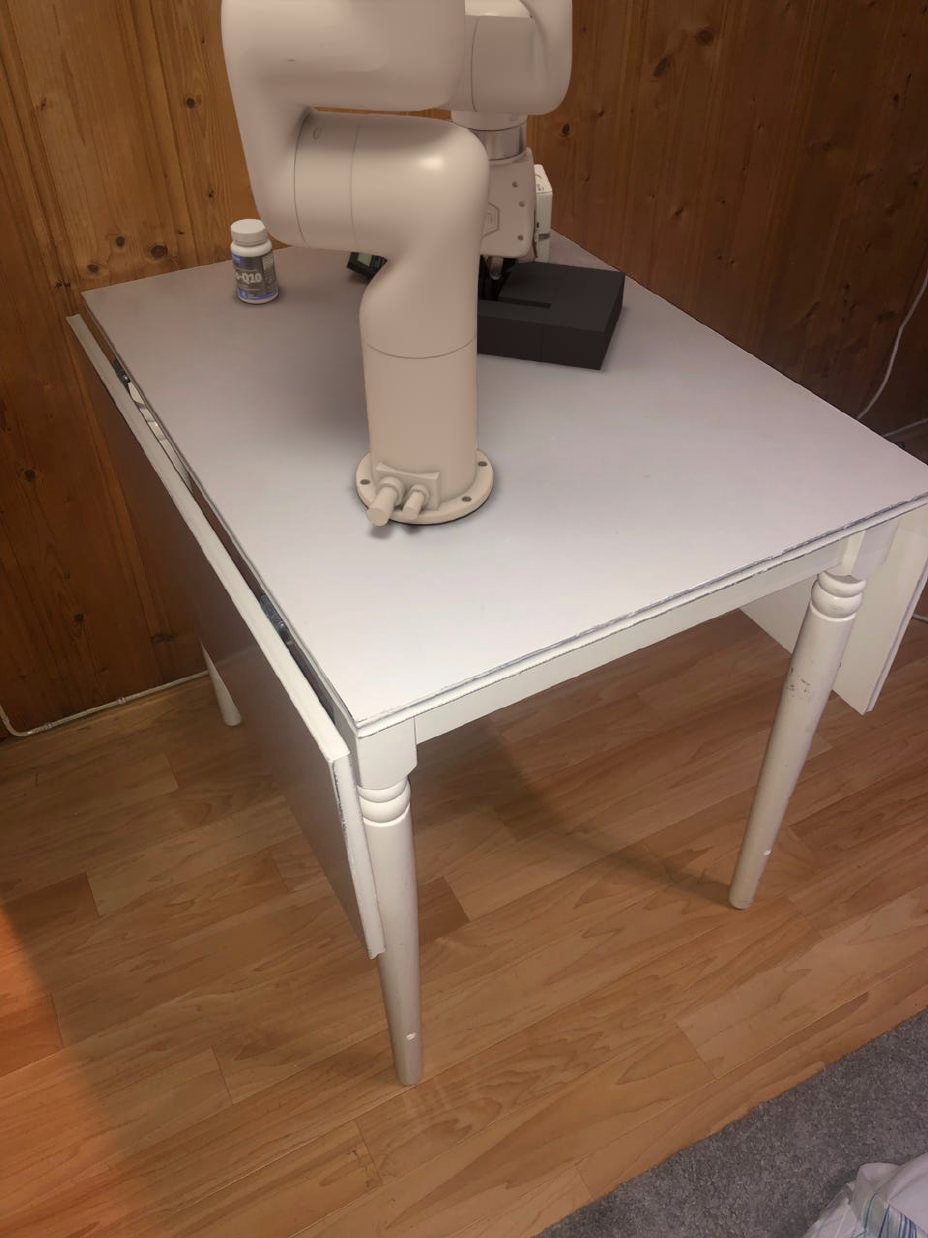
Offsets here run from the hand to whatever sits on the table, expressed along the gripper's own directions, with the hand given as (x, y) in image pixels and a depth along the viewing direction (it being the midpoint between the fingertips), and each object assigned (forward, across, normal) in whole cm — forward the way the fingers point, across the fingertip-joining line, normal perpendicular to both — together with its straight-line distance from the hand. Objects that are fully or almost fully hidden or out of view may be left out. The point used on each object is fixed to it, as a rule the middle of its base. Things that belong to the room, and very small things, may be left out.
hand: (487, 306), depth 115 cm
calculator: (+2, -13, +10) cm, 17 cm away
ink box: (+2, +2, +12) cm, 12 cm away
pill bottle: (+2, -28, -1) cm, 28 cm away
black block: (+2, +5, 0) cm, 5 cm away
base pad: (+2, +6, 0) cm, 7 cm away
